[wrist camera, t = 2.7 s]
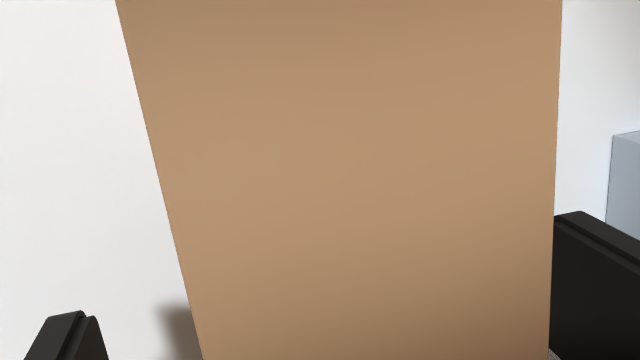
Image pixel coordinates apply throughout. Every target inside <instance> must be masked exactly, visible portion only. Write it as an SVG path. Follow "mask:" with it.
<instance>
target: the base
mask: <svg viewBox="0 0 640 360" xmlns="http://www.w3.org/2000/svg"><path fill="white" fill-rule="evenodd" d="M606 223H607V224H609V225H610V226H612V227H614V228H616V229H618V230H620V231H622V232H624V233H626V234H628V235H630V236H632V237H634V238H636V239H638V240H640V131H636V132H630V133H624V134H619V135H613V146H612V157H611V168H610V180H609V191H608V202H607V213H606Z"/></svg>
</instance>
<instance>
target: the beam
mask: <svg viewBox="0 0 640 360" xmlns="http://www.w3.org/2000/svg"><path fill="white" fill-rule="evenodd" d="M115 2H116V6H117V11H118V15H119V19H120V23H121V27H122V31H123V35H124V39H125V43H126V47H127V51H128V55H129V59H130V64H131V68H132V72H133V76H134V80H135V84H136V88H137V92H138V96H139V100H140V104H141V108H142V113H143V117H144V121H145V125H146V129H147V133H148V137H149V141H150V145H151V149H152V153H153V157H154V161H155V166H156V170H157V174H158V178H159V182H160V186H161V190H162V194H163V198H164V202H165V206H166V210H167V215H168V219H169V223H170V227H171V231H172V235H173V239H174V243H175V247H176V251H177V255H178V259H179V263H180V268H181V272H182V276H183V280H184V284H185V288H186V292H187V296H188V300H189V304H190V308H191V312H192V317H193V321H194V325H195V329H196V333H197V337H198V341H199V345H200V349H201V353H202V357H203V360H548V343H549V319H550V294H551V269H552V244H553V220H554V195H555V170H556V145H557V120H558V96H559V71H560V46H561V21H562V0H115Z"/></svg>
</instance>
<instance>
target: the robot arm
mask: <svg viewBox="0 0 640 360" xmlns="http://www.w3.org/2000/svg"><path fill="white" fill-rule="evenodd" d="M548 347H549V348H550V349H551V350H552V351H553V352H554V353H555V354H556V355H557V356H558V357H559V358H560V359H561V360H640V240H638V239H636V238H634V237H632V236H630V235H628V234H626V233H624V232H622V231H620V230H618V229H616V228H614V227H612V226H610V225H609V224H607V223H605V222H603V221H601V220H599V219H597V218H595V217H593V216H591V215H589V214H587V213H585V212H582V211H576V212H571V213H566V214H561V215H556V216H554V220H553V244H552V269H551V294H550V319H549V343H548ZM24 360H109V358H108V355H107V351H106V348H105V345H104V341H103V338H102V334H101V331H100V328H99V324H98V321H97V319H96V317H95V316H89V317H86V315H85V313H84V312H83V311H81V310H80V311H75V312H70V313H65V314H60V315H55V316H50V317H48V318H47V319H46V321H45V323H44V324H43V326H42V328H41V330H40V331H39V333H38V335H37V337H36V339H35V340H34V342H33V344H32V346H31V348H30V349H29V351H28V353H27V355H26V357H25V358H24Z"/></svg>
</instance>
